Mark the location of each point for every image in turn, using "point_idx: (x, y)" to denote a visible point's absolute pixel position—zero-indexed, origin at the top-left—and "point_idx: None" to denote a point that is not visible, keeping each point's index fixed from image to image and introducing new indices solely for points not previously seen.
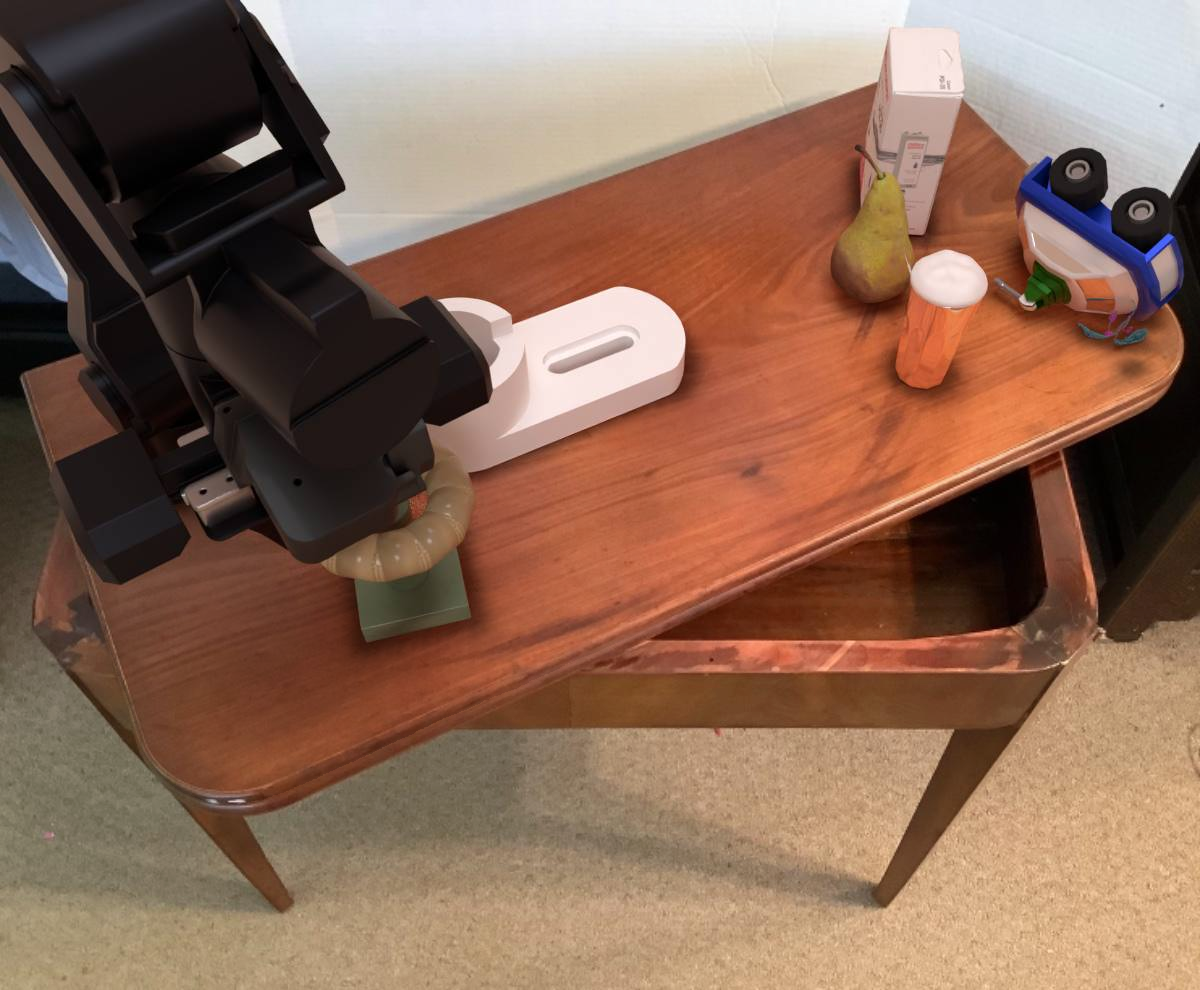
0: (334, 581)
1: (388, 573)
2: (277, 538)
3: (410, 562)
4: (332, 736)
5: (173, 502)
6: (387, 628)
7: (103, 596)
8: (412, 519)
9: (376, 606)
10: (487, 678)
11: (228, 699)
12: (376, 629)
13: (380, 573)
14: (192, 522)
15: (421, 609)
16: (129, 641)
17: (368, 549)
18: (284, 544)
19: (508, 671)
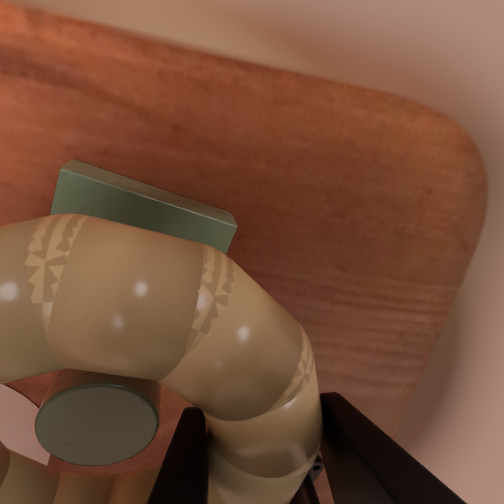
0: None
1: (190, 253)
2: (447, 500)
3: (106, 250)
4: (341, 110)
5: None
6: (201, 209)
7: (411, 395)
8: None
9: None
10: (94, 35)
11: (399, 236)
12: (216, 216)
13: (212, 265)
14: None
15: (140, 205)
16: (424, 345)
17: (213, 352)
18: (404, 457)
19: (51, 20)
